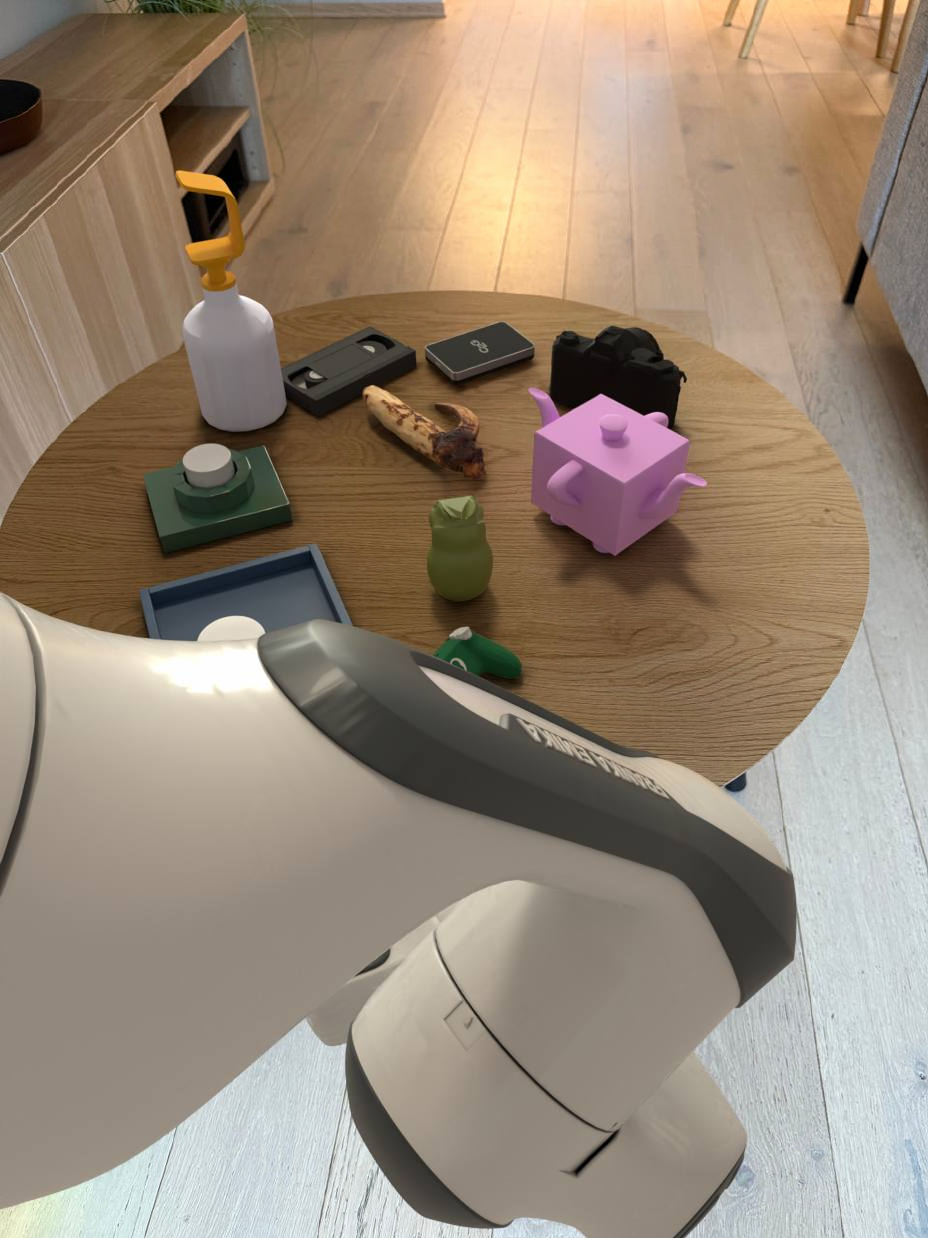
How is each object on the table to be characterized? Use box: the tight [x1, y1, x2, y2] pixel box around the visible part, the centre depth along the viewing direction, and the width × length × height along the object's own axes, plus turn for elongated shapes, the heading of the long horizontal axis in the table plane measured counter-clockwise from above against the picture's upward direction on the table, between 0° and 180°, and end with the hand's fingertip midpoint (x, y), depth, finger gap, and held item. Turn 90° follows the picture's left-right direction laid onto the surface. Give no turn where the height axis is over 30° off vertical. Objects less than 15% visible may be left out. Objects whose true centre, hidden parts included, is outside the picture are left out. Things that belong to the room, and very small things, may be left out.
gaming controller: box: [432, 626, 523, 680], centre depth 73 cm, size 9×4×6 cm
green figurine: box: [426, 494, 494, 602], centre depth 79 cm, size 6×5×10 cm
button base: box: [142, 445, 294, 554], centre depth 89 cm, size 12×10×4 cm
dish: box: [138, 542, 354, 641], centre depth 79 cm, size 16×12×2 cm
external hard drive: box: [424, 320, 536, 386], centre depth 107 cm, size 7×11×2 cm, turn 122°
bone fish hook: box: [362, 385, 487, 481], centre depth 96 cm, size 9×5×18 cm
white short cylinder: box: [182, 443, 235, 489], centre depth 87 cm, size 4×4×2 cm
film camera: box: [548, 325, 688, 431], centre depth 99 cm, size 15×10×9 cm, turn 56°
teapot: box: [528, 387, 708, 556], centre depth 85 cm, size 15×13×11 cm
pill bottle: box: [197, 616, 265, 641], centre depth 67 cm, size 6×6×11 cm
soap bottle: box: [174, 170, 288, 433], centre depth 93 cm, size 9×9×25 cm
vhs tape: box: [281, 326, 417, 417], centre depth 106 cm, size 14×8×2 cm, turn 134°
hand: (323, 741), depth 55 cm, fingers open, 8 cm apart
